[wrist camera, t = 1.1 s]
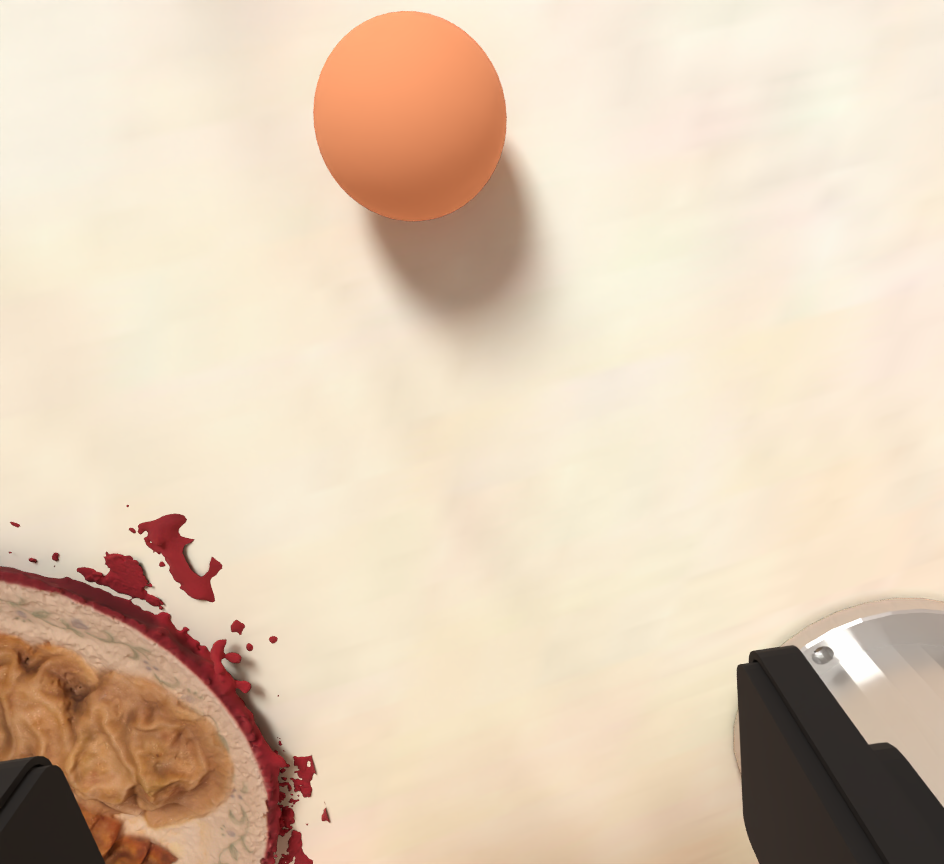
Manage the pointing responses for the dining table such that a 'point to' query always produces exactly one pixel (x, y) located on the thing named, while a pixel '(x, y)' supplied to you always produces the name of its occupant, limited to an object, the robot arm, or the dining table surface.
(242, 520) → the dining table surface
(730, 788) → the dining table surface
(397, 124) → the ball
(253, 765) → the plate with food
